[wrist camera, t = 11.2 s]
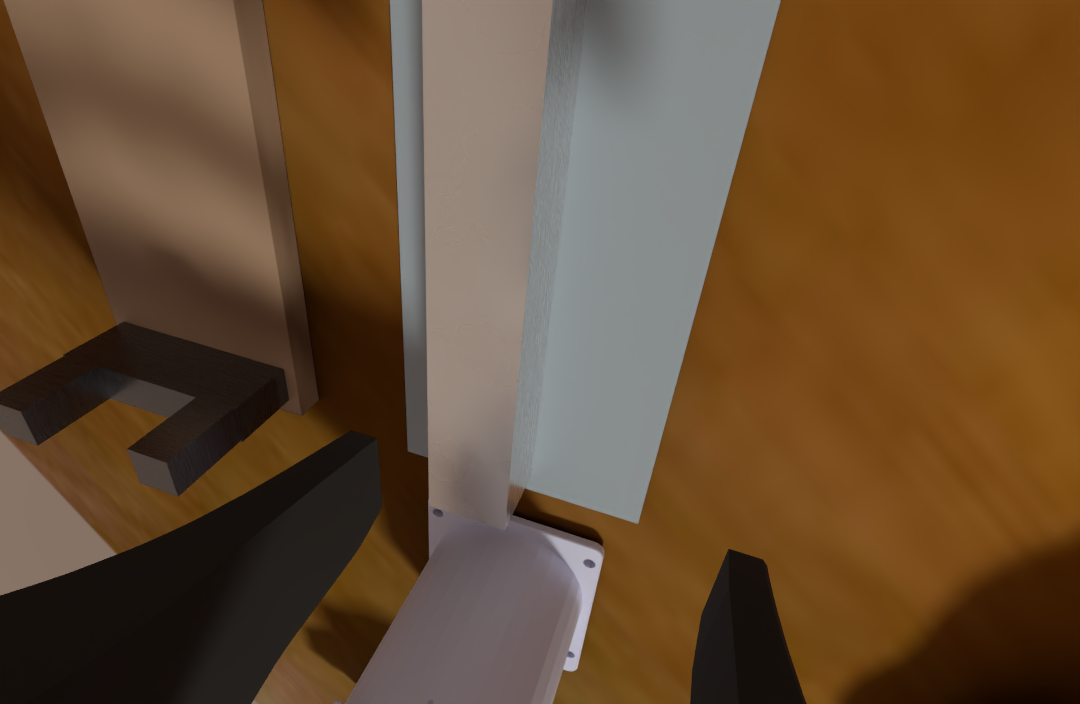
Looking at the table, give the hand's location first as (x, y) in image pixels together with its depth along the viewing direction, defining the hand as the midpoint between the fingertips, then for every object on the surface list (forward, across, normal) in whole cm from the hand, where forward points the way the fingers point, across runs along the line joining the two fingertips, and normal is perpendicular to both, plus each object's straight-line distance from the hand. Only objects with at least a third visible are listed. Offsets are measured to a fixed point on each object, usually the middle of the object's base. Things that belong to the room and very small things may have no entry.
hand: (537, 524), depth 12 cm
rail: (+9, +4, -3) cm, 10 cm away
